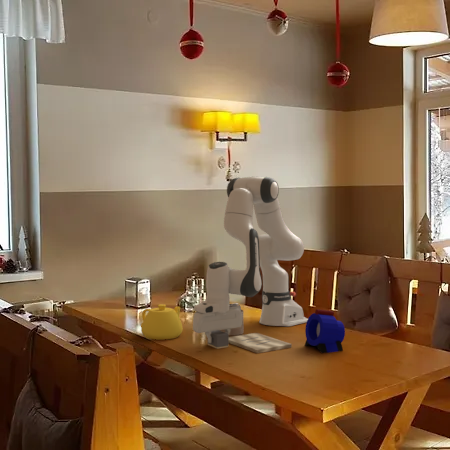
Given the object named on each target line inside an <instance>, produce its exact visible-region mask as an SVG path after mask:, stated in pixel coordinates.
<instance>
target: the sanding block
mask: <svg viewBox="0 0 450 450" xmlns="http://www.w3.org/2000/svg"><path fill="white" fill-rule="evenodd" d="M210 336H211V337H212V338H214V340H213V341H214V342H213V343H208V342H207V346H210V347H212V348H215V349H223V348H228V347H229V344H230V343H229V337H230V336H229V334H228V333H225V332H222V331H219V330H217V331H211V334H210Z"/></svg>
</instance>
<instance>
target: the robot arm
mask: <svg viewBox="0 0 450 450" xmlns="http://www.w3.org/2000/svg"><path fill="white" fill-rule="evenodd" d="M279 191H280V189H279V184H278V181H277V180H275V179H274V178H273V177H268V176H265V177H263V176H247V177H234V178H232V179H230V181H229V182H228V183H227V186H226V194H227V197H228V198H227V202H226V205H225V206H226V207H225V212H224V218H223V228H224V230H225V232H226V233H227V234H228V235H229V236H230V237H232V238H234V239H235V240H237V241H240V242H241V243H242V244H243V245H244V246H245V253H246V255H245V258H246V268H245V269H236V268H232V267H229V264H228V263H227V262H225V261H217V262H216V261H214V262H211V263H210V264H208V266H207V271H206V279H205V280H206V283H205V284H206V285H205V286H206V291H207V292H206V299H205V300H204V301H202V302H200V303H197V304H196V305H194V311H195V312H194V315H193V317H192V318H193V319H192V330H193V331H194V333H196V334H197V333H198V334H202V333H204V335H205V336H206V338H207V344H208V343H213V342H214V341H213V340H214V338H212V337H211V336H210V334H211V331H217V330H225V333H228V334H229V333H230V329H231V328H237V327H241V325H242V317H241V310H242V307H241V305H240V304H239V303H238V302H235V303H230V298H231V297H230V294H231V295H237V296H238V295H239V296H243V297H248V298H253V297H255V296H256V295H257V294H258V293H259V292H260V291H261V289H262V291H261V299H262V307H261V314H260V317H259V324H261V325H264V326H265V325H266V326H273V327H275V326H276V327H293V326H295V325H300V324H304V323H305V324H306V323H307V320H308V318H309V317H308V318H307V317H305V315H304V310H303V307H302V306H301V305H299V304H298V303H297V302H296V301H295V300H293V299H292V297H296V292H295V291H290V290H289V274H288V272H287V271H286V270H285V269H284V268H283V267H281V266H280V264H279V262H278V261H295V260H299V259H301V257H302V256H303V254H304V251H305V244H304V242H303V240H302V239H301V238H300V237H299V236H297V235H295V234H294V233H293V232H292V231H291V230H290V229H289V227H288V226H287V224H286V222H285V220H284V217H283V214H282V209H281V203H280V200H279V197H278V196H279ZM254 213H255V218H256V222H257V226H258V228H259V229H260V230H261V231H262V232H264V233H265V234H259V233H258V231H257V230H256V229H255V228H254V225H253V217H254ZM261 273H262V275H261Z"/></svg>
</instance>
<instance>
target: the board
mask: <svg viewBox="0 0 450 450" xmlns="http://www.w3.org/2000/svg"><path fill="white" fill-rule="evenodd" d="M229 344H231V345H234V346H236V347H238V348H239V347H240V348H242V349H245V350H247V351H251V352H253V353H255V354H261V353H267V352H271V351H272V352H273V351H278V350H279V351H280V350H283V349H289V348H290V349H291V348H292V347H293V346H292V343H290V342H286V341H283V340H280V339H277V338H274V337H272V336H268V335H265V334H263V333H259V332H253V333H252V332H251V333H248V334H241V335H239V336H229Z"/></svg>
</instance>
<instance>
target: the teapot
mask: <svg viewBox="0 0 450 450" xmlns="http://www.w3.org/2000/svg"><path fill="white" fill-rule="evenodd" d="M180 312H181V306H175V307H174V308H171V307H167V305H166V304H163V303H161V304H158V305H157V307H154V308H145V309H144V310H142V313H141V317H142V322H141V323H140V328H141V329H140V330H141V334H142V335H143V336H144V337H145V338H147V339H150V340H155V339H156V341H157V340H158V341H160V340H162V341H163V340H165V339H166V340H172V339H176V338H178V337H179V336H180V335H182V332H183V324H182V321H181V319H180ZM166 340H165V341H166Z"/></svg>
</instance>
